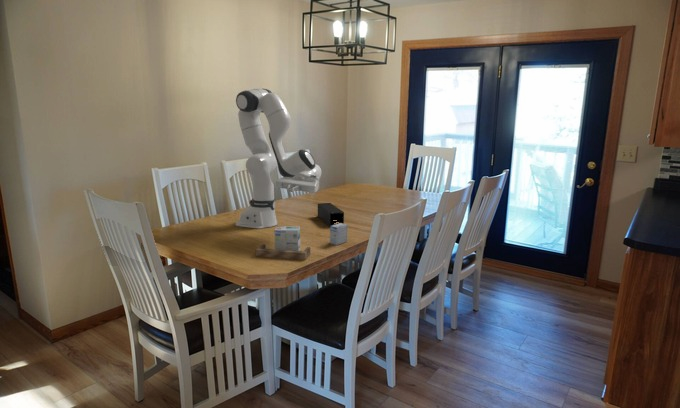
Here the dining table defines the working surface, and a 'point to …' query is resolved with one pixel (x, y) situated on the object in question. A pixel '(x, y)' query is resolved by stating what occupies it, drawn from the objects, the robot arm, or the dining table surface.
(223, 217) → the dining table surface
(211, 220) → the dining table surface
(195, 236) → the dining table surface
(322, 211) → the long black box
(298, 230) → the light bulb box
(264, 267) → the dining table surface
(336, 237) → the medicine box
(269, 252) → the walnut corral
